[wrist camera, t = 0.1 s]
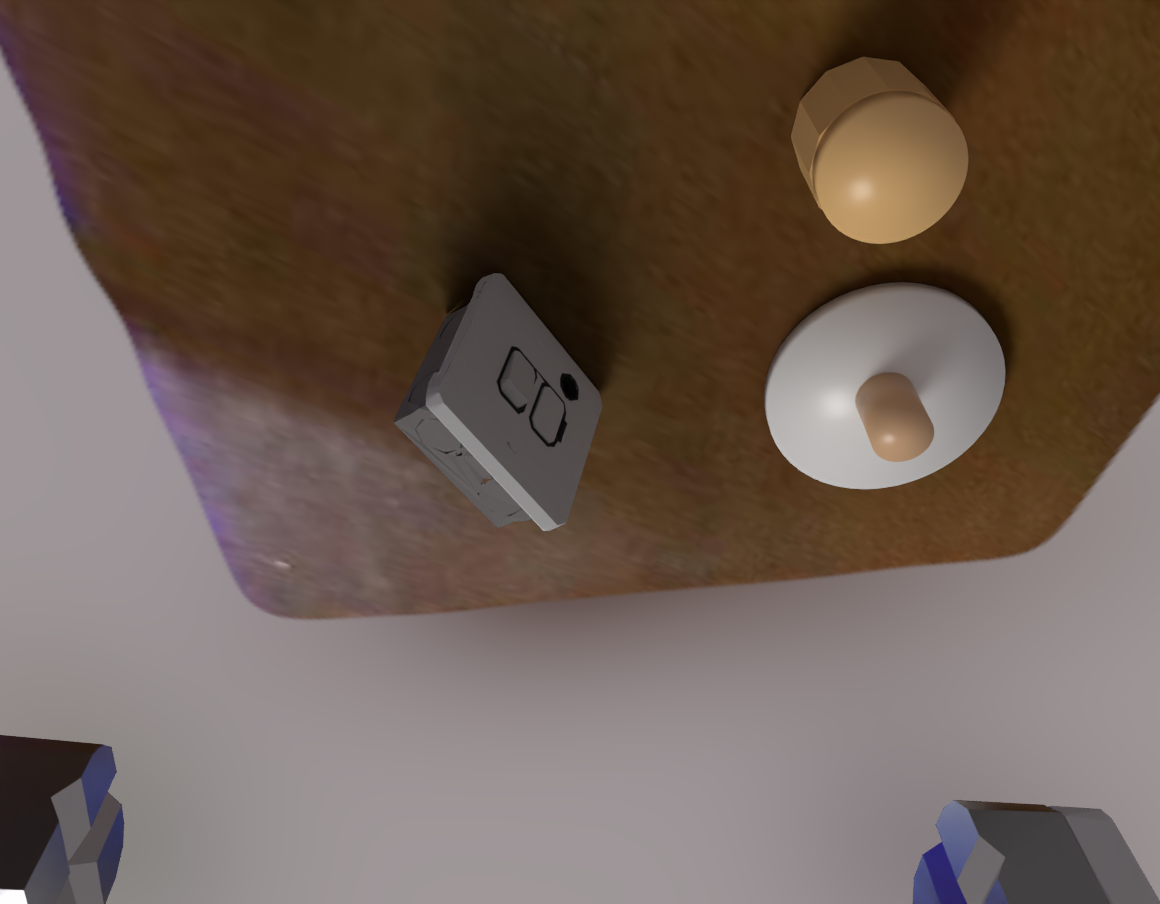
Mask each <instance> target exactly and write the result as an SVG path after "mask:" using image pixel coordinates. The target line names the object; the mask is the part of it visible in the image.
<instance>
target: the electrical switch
mask: <svg viewBox="0 0 1160 904" xmlns="http://www.w3.org/2000/svg"><path fill="white" fill-rule="evenodd" d="M473 294H474V295H473V297H472V299H471V301H470V303H469V304H468V305H466V306H465V307H464V308H462V309H459V310H457V311H455V312H453V313H451V314H449V315H447V316H446V317H445V319H444V321H443V323H442V325H441V327H440V329H439V331H438V333H437V335H436V337H435V339H434V341H433V343H432V345H431V347H430V349H429V351H428V353H427V355H426V357H425V359H424V361H423V363H422V365H421V367H420V369H419V371H418V373H417V375H416V377H415V379H414V381H413V383H412V385H411V387H410V389H409V391H408V393H407V395H406V397H405V399H404V401H403V403H402V405H401V407H400V409H399V411H398V413H397V415H396V416H395V418H394V420H395V419H397V418H400V417H402V418H400V419H398V420H395V421H394V423H395V424H396V425H397V427H398V428H399V429H400V430H401V431H402V432H403V433H404V434H405V435H406V436H407V437H408V438H409V439H410V440H411V441H412V442H413V443H414V444H415V445H416V446H417V447H418V448H419V449H420V450H421V451H422V452H423V453H424V454H425V455H426V456H427V457H428V458H429V459H430V460H431V461H432V462H433V463H434V464H435V465H436V466H437V467H438V468H439V469H440V470H441V471H442V472H443V473H444V474H445V475H446V476H447V477H448V478H449V479H450V480H451V482H452V483H453V484H454V485H455V486H456V487H457V488H458V489H459V490H460V491H461V492H462V493H463V494H464V495H465V496H466V497H467V498H468V499H469V500H470V501H471V502H472V503H473V504H474V505H475V506H476V507H477V508H478V509H479V510H480V511H481V512H482V513H483V514H484V515H485V516H486V517H487V518H488V519H489V520H490V521H491V522H492V523H493V524H494V525H495V526H496V527H497V528H498V527H501V526H504V525H507V524H510V523H513V522H516V521H527V520H530V519H533V520H534V521H535V522H536V523H537V525H538V526H539V527H540V528H541V529H542V530H543V531H550V530H552V529H554V528H557V527H559V526H561V525H563V524H565V523H567V519H568V516H569V513H570V510H571V506H572V503H573V500H574V497H575V493H576V490H577V487H578V484H579V480H580V477H581V474H582V471H583V468H584V464H585V461H586V458H587V455H588V451H589V448H590V445H591V442H592V438H593V435H594V432H595V429H596V425H597V422H598V419H599V416H600V412H601V409H602V402H601V398H600V394H599V392H598V390H597V389H596V388H595V386H594V385H593V384H592V383H591V381H590V380H589V379H588V378H587V377H586V375H585V374H584V373H583V372H582V370H581V369H580V368H579V367H578V366H577V364H576V363H575V362H574V361H573V359H572V358H571V357H570V356H569V355H568V353H567V352H566V351H565V350H564V348H563V347H562V346H561V345H560V344H559V342H558V341H557V340H556V339H555V337H554V336H553V335H552V334H551V332H550V331H549V330H548V329H547V328H546V326H545V325H544V324H543V323H542V321H541V320H540V319H539V318H538V317H537V315H536V314H535V313H534V312H533V310H532V309H531V308H530V307H529V306H528V304H527V303H526V302H525V301H524V299H523V298H522V297H521V296H520V295H519V293H518V292H517V291H516V290H515V288H514V287H513V286H512V285H511V283H510V282H509V281H508V280H507V279H506V277H505V276H504V275H503V274H501V273H493V274H491V275H488V276H486V277H483V278H482V279H481V280H480V281H479V282H478V283H477V284H476V287H475V290H474V292H473ZM451 342H452V343H451ZM449 343H450V344H449ZM446 344H447V345H446ZM411 413H412V414H411ZM406 415H407V416H406ZM403 416H405V417H403ZM421 440H422V441H421ZM422 442H423V443H422ZM448 451H451V452H448ZM484 478H485V479H492V480H490V481H488V482H486V483H483V484H482V481H483V479H484ZM497 483H498V484H497ZM489 509H490V510H492V511H490V510H489Z"/></svg>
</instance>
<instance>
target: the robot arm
mask: <svg viewBox="0 0 1160 904" xmlns="http://www.w3.org/2000/svg"><path fill="white" fill-rule="evenodd" d="M116 772H117V771H116V766H115V761H114V756H113V751H112V747H110V746H106V745H103V744H92V743H81V742H70V741H60V740H49V739H38V738H27V737H16V736H4V735H0V904H106V901H107V899H108V896H109V893H110V891H111V888H112V886H113V883H114V881H115V878H116V874H117V870H118V865H119V861H120V857H121V852H122V848H123V837H124V818H123V810H122V804H121V803H119V802H118V801H117V800H116V799H115V798H114V797H113V796H112V795H111V794H110V793H108V790H109V788H110V785H111V783H112V781H113V779H114V777H115V774H116ZM936 827H937V830H938V832H939V835H940V838H941V840H942V842H941V843H939V844H938V845H936V846H935V847H933V848H932V849H930V850H929V851H927V852H926V853H925V854H923V855H922V858H921V860H920V863H919V865H918V868H917V871H916V873H915V876H914V887H913V904H1160V901H1159V899H1158V897H1157V895H1156V894H1155V892H1154V890H1153V889H1152V887H1151V885H1150V884H1149V882H1148V880H1147V878H1146V877H1145V875H1144V873H1143V871H1142V870H1141V868H1140V866H1139V864H1138V863H1137V861H1136V859H1135V857H1134V856H1133V854H1132V852H1131V850H1130V849H1129V847H1128V845H1127V844H1126V842H1125V840H1124V839H1123V837H1122V835H1121V833H1120V832H1119V830H1118V828H1117V826H1116V825H1115V823H1114V821H1113V820H1112V819H1111V818H1110V817H1109V816H1108V815H1107V814H1106V813H1105V812H1103V811H1102V810H1101V809H1090V808H1074V807H1060V806H1050V807H1047V806H1045V805H1036V804H1018V803H1017V804H1016V803H1000V802H981V801H963V800H953V801H952V802H950V803H949V804H948V805H947V806H945V807H944V808H943V810H942V812H941V814H940V817H939V819H938V821H937V823H936Z"/></svg>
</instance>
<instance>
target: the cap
mask: <svg viewBox="0 0 1160 904" xmlns="http://www.w3.org/2000/svg"><path fill="white" fill-rule="evenodd" d="M791 139H792V142H793V146H794V149H795V153H796V156H797V160H798V163H799V166H800V169H801V172H802V174H803V176H804V178H805V180H806V182H807V184H808V186H809V188H810V190H811V192H812V194H813V196H814V198H815V200H816V202H817V204H818V206H819V208H821V209H822V210H823V211H824V213H825V215H826V217H827V218H828V220H829V221H830V222H831V223H832V225H834V226H835V227H836V228H837V229H838V230H839V231H840V232H842V233H843V234H845V235H847V236H849V237H851V238H853V239H855V240H858V241H862V242H867V243H876V244H882V243H892V242H898V241H901V240H905V239H908V238H910V237H913V236H915V235H917V234H919V233H921V232H923V231H924V230H926V229H928V228H929V227H930V226H932V225H933V224H935V223H936V222H937V221H938V220H939V219H940V218H941V217H942V216H943V215H944V214H945V213H946V212H947V211H948V210H949V209H950V207H951V206H952V205H953V203H954V202H955V200H956V199H957V197H958V195H959V193H960V191H961V189H962V187H963V184H964V181H965V178H966V174H967V168H968V149H967V144H966V141H965V138H964V135H963V133H962V131H961V129H960V128H959V126H958V125H957V123H956V122H955V119H954V117H953V116H952V115H951V114H950V113H949V112H948V110H947V109H946V108H945V107H944V106H943V105H942V104H941V103H940V102H939V100H938V99H937V98H936V97H935V96H934V95H933V94H932V93H931V92H930V91H929V89H928V88H927V87H926V86H925V85H924V84H923V83H922V82H921V81H920V80H918V79H917V78H916V77H915V76H914V75H913V74H912V73H911V72H910V71H909V70H908V69H907V68H906V67H904V66H903V65H902V64H901V63H900V62H898V61H891V60H884V59H877V58H870V57H861V58H858V59H856V60H853V61H851V62H848V63H846V64H843V65H841V66H838V67H836V68H833V69H831V70H828V71H826V72H825V73H824V75H823V76H822V77H821V78H820V79H819V80H818V81H817V82H816V84H815V85H814V86H813V87H812V88H811V89H810V90H809V91H808V92H807V94H806V95H805V96H804V97H803V98H802V99H801V100H800V103H799V107H798V111H797V115H796V118H795V122H794V126H793V130H792V134H791Z"/></svg>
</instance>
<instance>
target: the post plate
mask: <svg viewBox="0 0 1160 904" xmlns="http://www.w3.org/2000/svg"><path fill="white" fill-rule="evenodd" d="M1004 385H1005V362H1004V356H1003V353H1002V349H1001V346H1000V344H999V342H998V340H997V338H996V336H995V334H994V332H993V331H992V329H991V328H990V326H989V325H988V323H987V322H986V321H985V319H984V318H983V316H982V315H981V314H980V313H979V312H978V311H977V310H976V309H975V308H974V307H973V306H972V305H971V304H969V303H968V302H967V301H965V300H964V299H962V298H961V297H959V296H957V295H955V294H953V293H951V292H949V291H947V290H944V289H941V288H938V287H935V286H931V285H926V284H920V283H908V282H896V283H883V284H878V285H872V286H867V287H864V288H861V289H857V290H854V291H851V292H849V293H846V294H844V295H841V296H839V297H837V298H835V299H833V300H831V301H829V302H828V303H826V304H824V305H822V306H821V307H819V308H818V309H817V310H815V311H814V312H812V313H811V314H809V315H808V316H807V317H806V318H805V319H804V320H803V321H801V322H800V323H799V324H798V325H797V326H796V327H795V328H794V329H793V330H792V332H791V333H790V334H789V335H788V336H787V337H786V339H785V340H784V342H783V343H782V344H781V346H780V347H779V349H778V350H777V352H776V354H775V356H774V358H773V360H772V362H771V365H770V368H769V370H768V373H767V377H766V382H765V387H764V406H765V413H766V417H767V420H768V424H769V428H770V431H771V435H772V437H773V439H774V441H775V443H776V445H777V447H778V448H779V450H780V451H781V453H782V454H783V455H784V456H785V457H786V458H787V460H788V461H789V462H790V463H791V464H792V465H794V466H795V467H796V468H798V469H799V470H800V471H801V472H803V473H805V474H807V475H808V476H810V477H812V478H814V479H817V480H819V481H821V482H824V483H827V484H831V485H834V486H838V487H845V488H852V489H877V488H885V487H892V486H897V485H900V484H904V483H908V482H911V481H914V480H917V479H920V478H922V477H925V476H927V475H929V474H931V473H933V472H935V471H937V470H939V469H941V468H942V467H944V466H946V465H947V464H949V463H951V462H952V461H953V460H955V459H956V458H957V457H959V456H960V455H961V454H963V453H964V452H965V451H966V450H967V449H968V448H969V447H970V446H971V445H973V443H974V442H975V441H976V440H977V439H978V438H979V437H980V436H981V434H982V433H983V432H984V430H985V429H986V428H987V426H988V425H989V423H990V422H991V420H992V418H993V416H994V414H995V413H996V411H997V409H998V406H999V403H1000V400H1001V398H1002V394H1003V389H1004Z"/></svg>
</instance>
